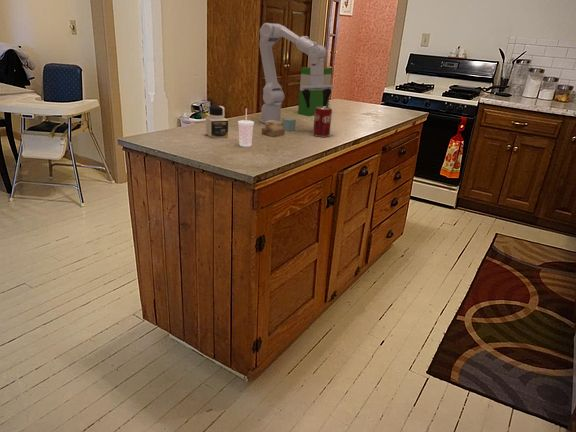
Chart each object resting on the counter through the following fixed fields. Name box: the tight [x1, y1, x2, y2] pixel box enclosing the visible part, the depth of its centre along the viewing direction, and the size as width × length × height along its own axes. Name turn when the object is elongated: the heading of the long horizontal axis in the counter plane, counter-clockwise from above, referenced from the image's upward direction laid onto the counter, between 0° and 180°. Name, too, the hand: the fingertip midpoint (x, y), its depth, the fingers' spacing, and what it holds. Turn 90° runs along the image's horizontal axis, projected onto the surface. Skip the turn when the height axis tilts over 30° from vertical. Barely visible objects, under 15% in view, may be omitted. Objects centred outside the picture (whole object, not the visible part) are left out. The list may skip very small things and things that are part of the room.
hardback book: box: [297, 66, 333, 117], centre depth 237 cm, size 18×7×24 cm, turn 141°
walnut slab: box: [261, 127, 286, 138], centre depth 188 cm, size 7×7×3 cm
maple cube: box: [264, 120, 283, 130], centre depth 187 cm, size 5×5×3 cm
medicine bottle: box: [205, 104, 229, 139], centre depth 178 cm, size 7×7×12 cm
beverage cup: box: [237, 108, 255, 148], centre depth 166 cm, size 6×6×14 cm
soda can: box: [312, 106, 333, 138], centre depth 190 cm, size 7×7×12 cm
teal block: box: [282, 117, 297, 132], centre depth 197 cm, size 4×4×5 cm
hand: (316, 107), depth 194 cm, fingers open, 7 cm apart
